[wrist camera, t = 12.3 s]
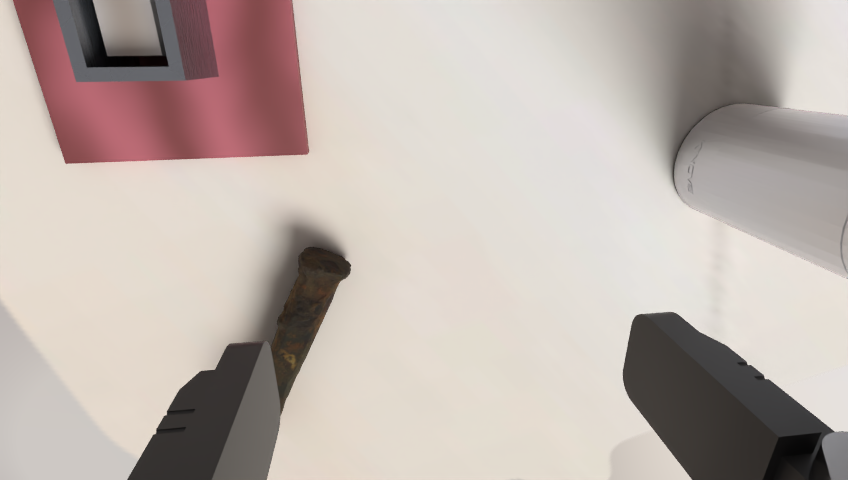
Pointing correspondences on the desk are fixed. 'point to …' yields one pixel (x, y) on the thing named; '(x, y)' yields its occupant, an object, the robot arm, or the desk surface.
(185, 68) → the square socket
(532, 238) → the desk surface
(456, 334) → the desk surface
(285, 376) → the hand tool
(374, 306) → the desk surface
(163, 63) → the post base
